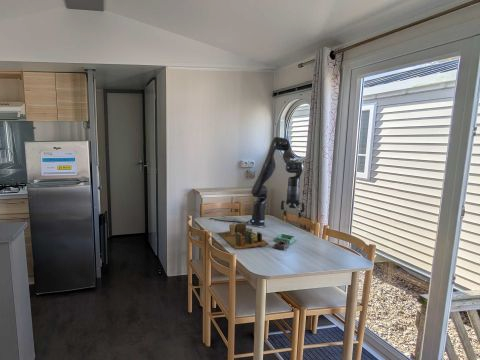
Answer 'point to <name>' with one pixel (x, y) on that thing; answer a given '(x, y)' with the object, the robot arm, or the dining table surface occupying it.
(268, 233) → the dining table surface
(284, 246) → the frame
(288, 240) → the holder
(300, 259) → the dining table surface
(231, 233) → the brown tray with blocks
